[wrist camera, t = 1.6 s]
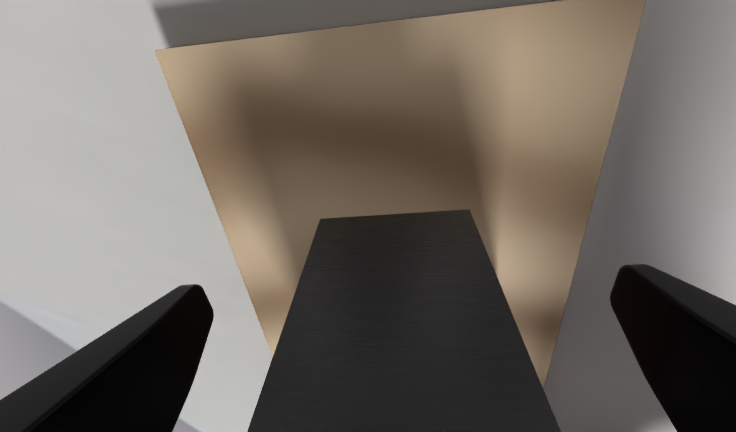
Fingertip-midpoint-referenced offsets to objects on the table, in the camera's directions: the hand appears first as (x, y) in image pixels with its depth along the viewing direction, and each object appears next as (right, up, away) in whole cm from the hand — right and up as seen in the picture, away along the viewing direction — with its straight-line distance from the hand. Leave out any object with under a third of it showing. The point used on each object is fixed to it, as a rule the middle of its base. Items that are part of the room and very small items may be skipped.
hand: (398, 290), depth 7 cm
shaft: (+1, -5, +4) cm, 7 cm away
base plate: (+1, -2, +9) cm, 9 cm away
